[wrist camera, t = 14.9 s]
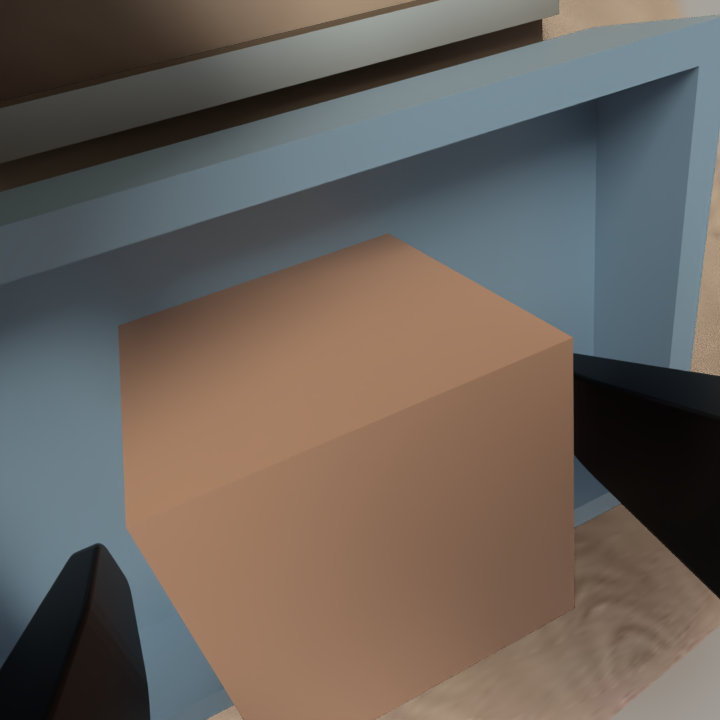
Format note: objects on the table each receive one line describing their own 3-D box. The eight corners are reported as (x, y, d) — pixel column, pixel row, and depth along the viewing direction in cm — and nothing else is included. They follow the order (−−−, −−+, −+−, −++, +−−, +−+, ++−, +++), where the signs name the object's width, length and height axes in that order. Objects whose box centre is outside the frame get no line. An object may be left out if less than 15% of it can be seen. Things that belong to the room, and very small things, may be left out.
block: (426, 438, 13) (574, 608, 9) (218, 530, 12) (276, 773, 8) (388, 232, 10) (572, 337, 6) (118, 325, 9) (125, 526, 5)
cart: (544, 380, 18) (677, 474, 14) (28, 609, 14) (-5, 828, 10) (530, 33, 13) (733, 13, 9) (-272, 251, 9) (-581, 395, 5)
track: (534, 385, 19) (565, 407, 18) (-510, 846, 13) (-580, 934, 12) (513, -24, 13) (558, -35, 12) (-1498, 465, 7) (-1886, 559, 5)
